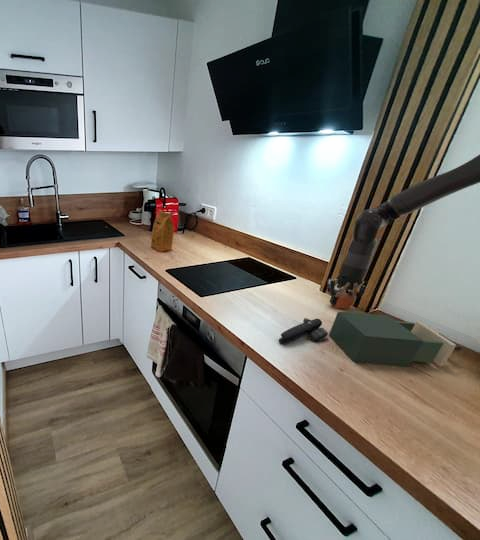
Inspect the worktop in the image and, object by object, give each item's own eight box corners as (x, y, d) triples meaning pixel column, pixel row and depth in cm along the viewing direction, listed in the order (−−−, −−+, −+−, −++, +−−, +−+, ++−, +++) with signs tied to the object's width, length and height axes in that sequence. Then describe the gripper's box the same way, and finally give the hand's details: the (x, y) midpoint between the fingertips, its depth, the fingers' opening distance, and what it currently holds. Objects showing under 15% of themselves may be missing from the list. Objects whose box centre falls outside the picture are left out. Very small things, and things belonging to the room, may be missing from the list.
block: (342, 302, 112) (346, 292, 110) (349, 309, 107) (353, 298, 106) (329, 302, 112) (333, 291, 110) (336, 308, 108) (340, 297, 106)
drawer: (425, 342, 89) (437, 322, 86) (462, 367, 79) (476, 346, 76) (364, 337, 91) (372, 317, 88) (391, 361, 80) (402, 340, 77)
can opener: (309, 327, 96) (314, 313, 94) (329, 339, 90) (335, 324, 88) (269, 337, 91) (273, 322, 88) (288, 351, 85) (293, 335, 82)
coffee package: (162, 244, 174) (165, 208, 165) (173, 251, 163) (178, 212, 155) (148, 246, 170) (150, 209, 161) (159, 253, 160) (162, 214, 151)
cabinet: (376, 339, 91) (388, 315, 88) (408, 367, 80) (423, 340, 76) (328, 335, 92) (337, 311, 89) (353, 362, 81) (365, 336, 77)
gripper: (340, 266, 100) (325, 308, 107) (384, 269, 99) (366, 311, 106) (328, 259, 107) (315, 298, 114) (369, 261, 106) (353, 301, 112)
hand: (339, 304), depth 110 cm, fingers closed on block, 4 cm apart
